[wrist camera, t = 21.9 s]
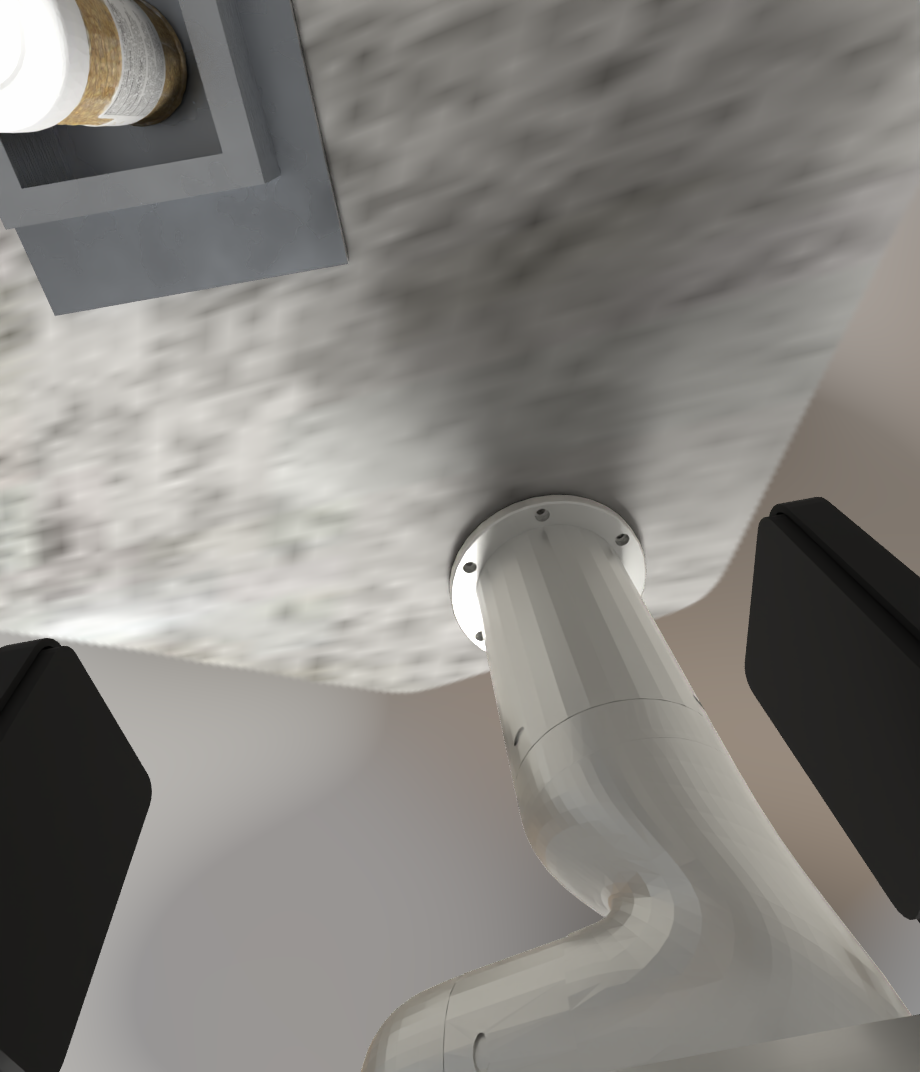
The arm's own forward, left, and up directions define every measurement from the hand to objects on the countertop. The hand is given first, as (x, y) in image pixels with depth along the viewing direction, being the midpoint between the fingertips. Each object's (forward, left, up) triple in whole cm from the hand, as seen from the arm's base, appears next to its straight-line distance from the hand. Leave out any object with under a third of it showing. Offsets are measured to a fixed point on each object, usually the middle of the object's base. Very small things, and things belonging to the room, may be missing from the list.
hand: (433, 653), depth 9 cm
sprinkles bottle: (+10, +9, -28) cm, 30 cm away
